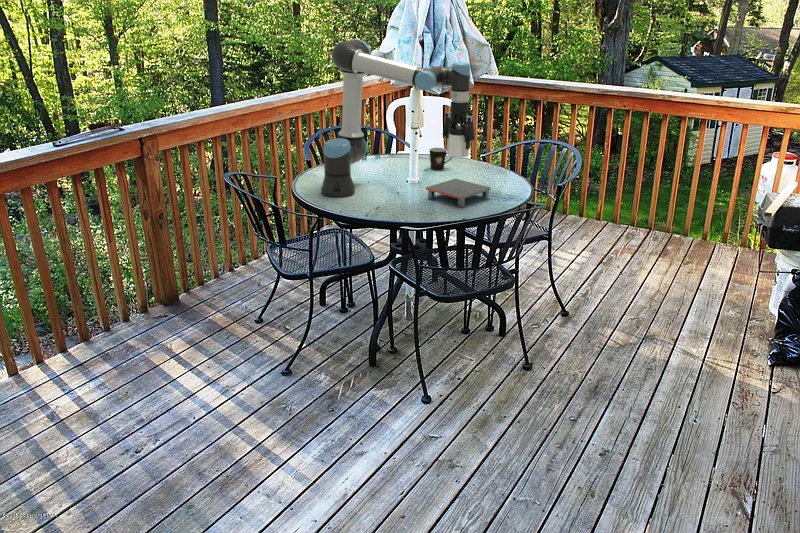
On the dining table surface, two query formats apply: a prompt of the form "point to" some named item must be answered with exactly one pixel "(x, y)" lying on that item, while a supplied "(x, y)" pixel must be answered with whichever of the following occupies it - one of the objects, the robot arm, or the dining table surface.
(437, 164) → the coffee mug
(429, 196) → the stand
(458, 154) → the jar
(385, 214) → the dining table surface
